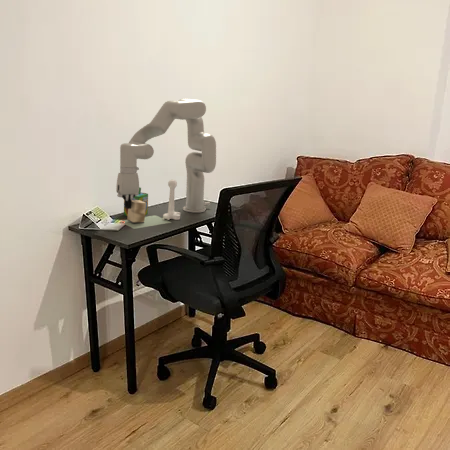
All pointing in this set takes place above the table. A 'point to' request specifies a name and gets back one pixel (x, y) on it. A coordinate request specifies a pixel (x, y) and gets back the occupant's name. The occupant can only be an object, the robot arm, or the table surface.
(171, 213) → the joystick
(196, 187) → the robot arm
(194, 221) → the table surface
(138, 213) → the maple block
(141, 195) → the chalk box
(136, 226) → the mat
